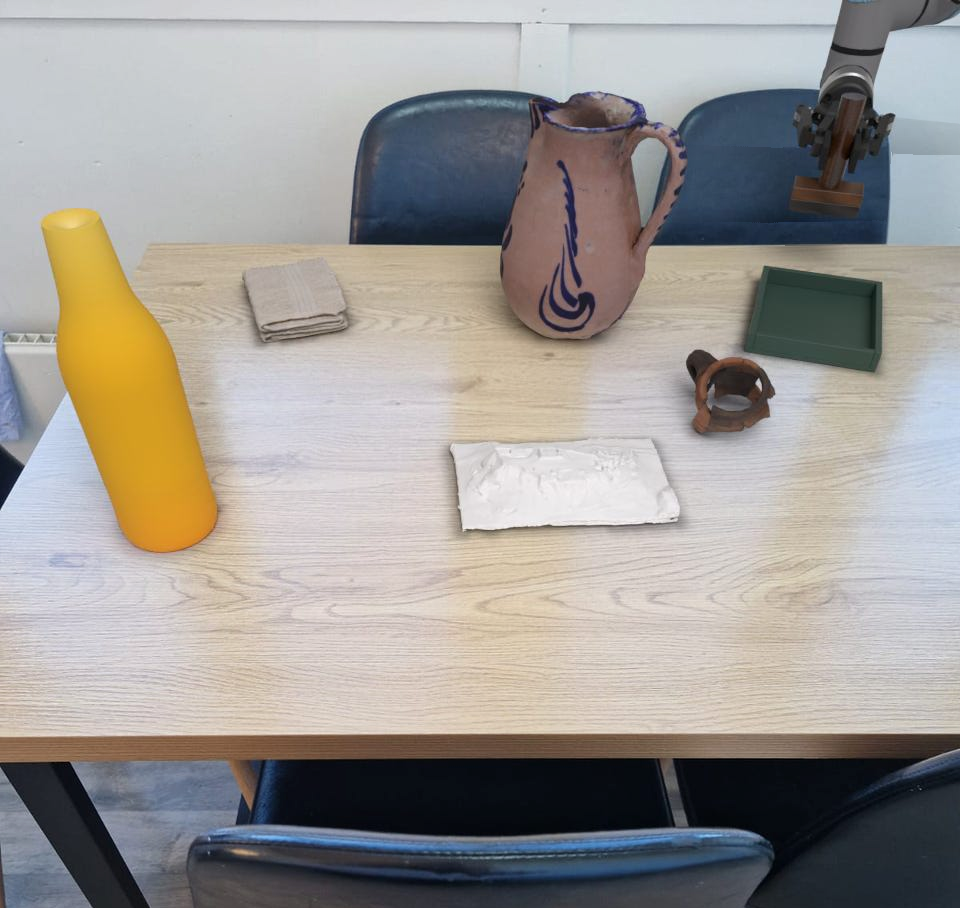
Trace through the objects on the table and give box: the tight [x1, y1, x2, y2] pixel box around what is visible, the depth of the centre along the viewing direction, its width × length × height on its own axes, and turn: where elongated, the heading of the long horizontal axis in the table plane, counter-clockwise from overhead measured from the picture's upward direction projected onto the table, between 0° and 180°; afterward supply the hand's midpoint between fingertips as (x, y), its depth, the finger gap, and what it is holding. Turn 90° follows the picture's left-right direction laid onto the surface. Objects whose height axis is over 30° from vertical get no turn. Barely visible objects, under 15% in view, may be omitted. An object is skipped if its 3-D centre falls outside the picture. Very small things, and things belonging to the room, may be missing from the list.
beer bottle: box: [40, 207, 218, 553], centre depth 74 cm, size 9×9×29 cm
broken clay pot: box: [685, 349, 776, 434], centre depth 96 cm, size 12×10×8 cm
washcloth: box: [241, 257, 349, 343], centre depth 113 cm, size 12×18×3 cm, turn 19°
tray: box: [744, 265, 883, 373], centre depth 111 cm, size 16×20×2 cm
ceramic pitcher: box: [499, 90, 688, 340], centre depth 102 cm, size 18×21×25 cm
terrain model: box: [449, 436, 681, 533], centre depth 88 cm, size 17×23×5 cm
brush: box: [787, 93, 867, 219], centre depth 113 cm, size 9×4×14 cm, turn 72°
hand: (838, 160), depth 109 cm, fingers closed on brush, 3 cm apart
